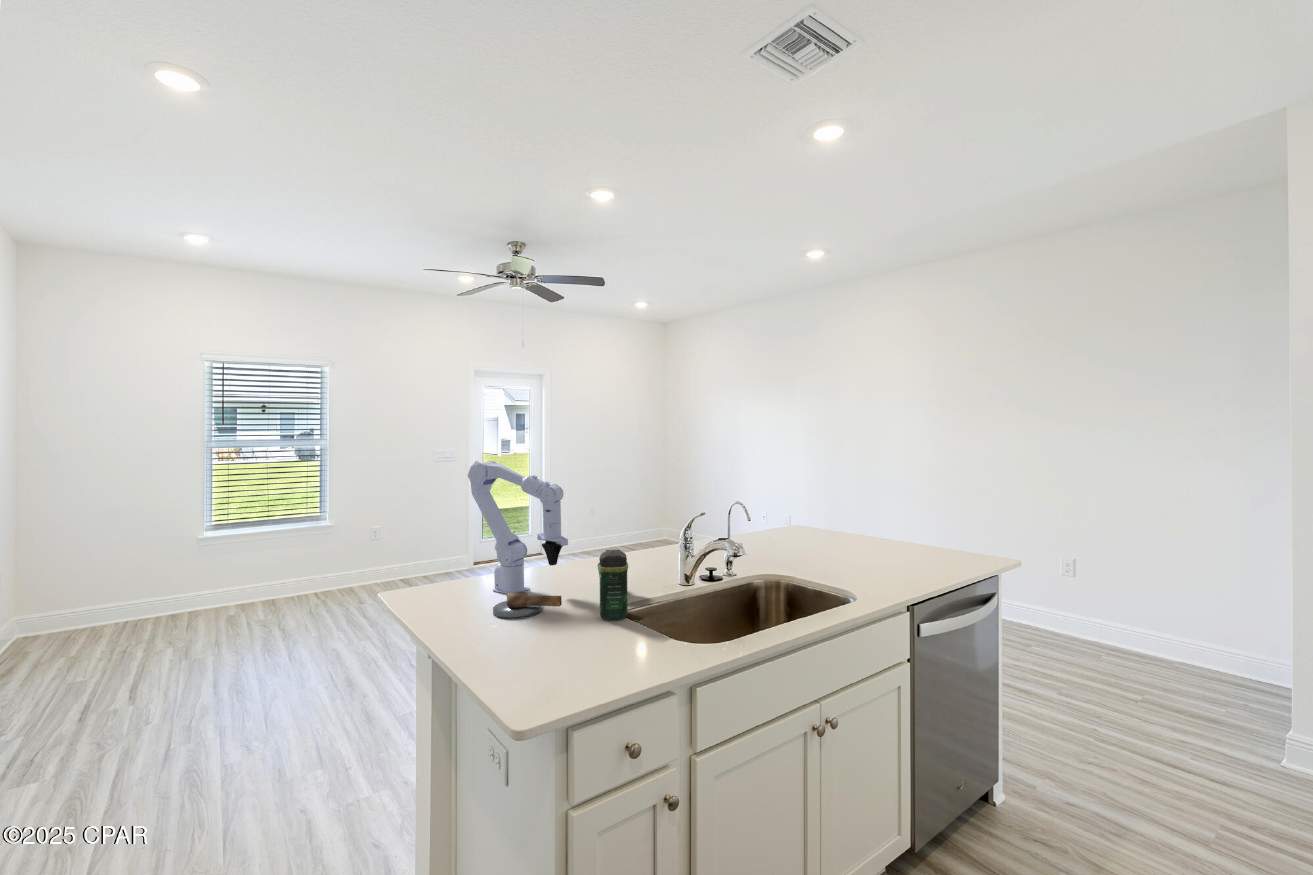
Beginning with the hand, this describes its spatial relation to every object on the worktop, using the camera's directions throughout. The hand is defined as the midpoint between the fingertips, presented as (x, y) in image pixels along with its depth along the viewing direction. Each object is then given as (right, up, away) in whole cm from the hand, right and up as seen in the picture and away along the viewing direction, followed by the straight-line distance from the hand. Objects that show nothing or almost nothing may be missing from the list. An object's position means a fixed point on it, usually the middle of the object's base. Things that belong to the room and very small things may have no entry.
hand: (552, 564), depth 191 cm
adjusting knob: (-2, -8, -18) cm, 19 cm away
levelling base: (-7, -10, -17) cm, 21 cm away
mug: (+19, -9, 0) cm, 21 cm away
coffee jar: (+21, -10, -22) cm, 32 cm away
